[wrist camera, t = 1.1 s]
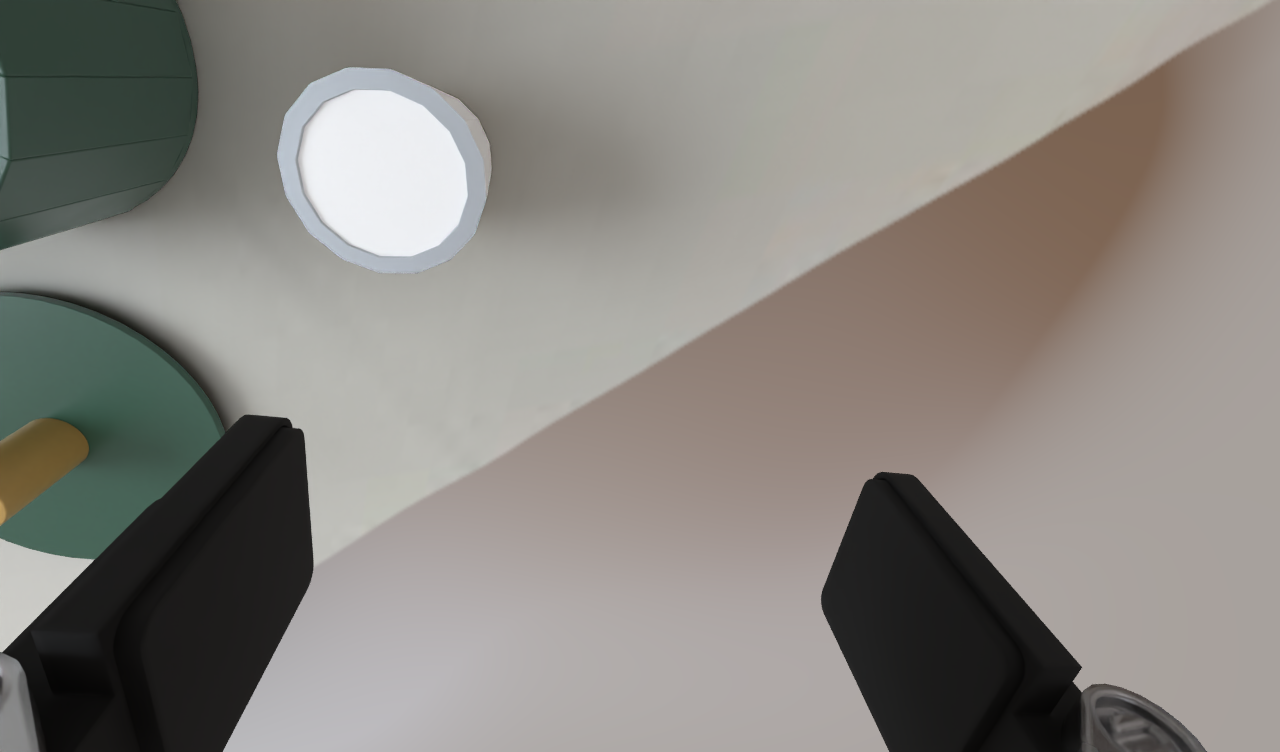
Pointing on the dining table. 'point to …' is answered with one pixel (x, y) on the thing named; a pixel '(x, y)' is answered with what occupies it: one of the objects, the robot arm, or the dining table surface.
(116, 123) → the tin
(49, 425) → the lid
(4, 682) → the robot arm
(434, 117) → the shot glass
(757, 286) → the dining table surface
